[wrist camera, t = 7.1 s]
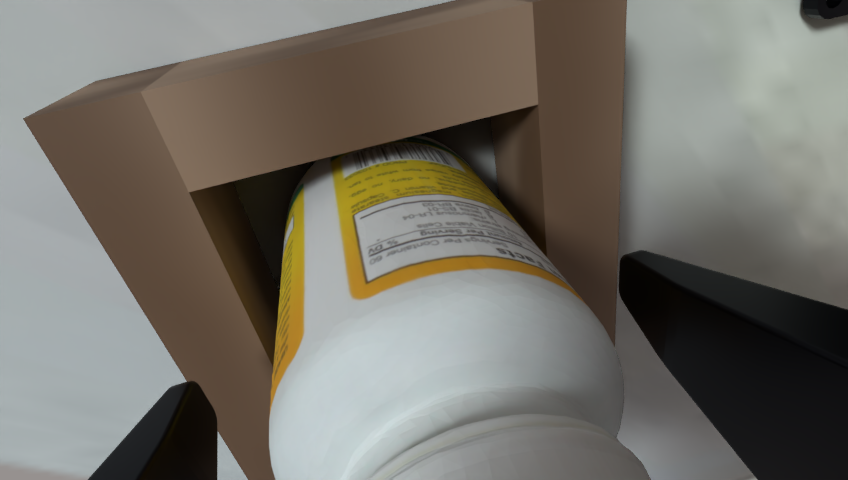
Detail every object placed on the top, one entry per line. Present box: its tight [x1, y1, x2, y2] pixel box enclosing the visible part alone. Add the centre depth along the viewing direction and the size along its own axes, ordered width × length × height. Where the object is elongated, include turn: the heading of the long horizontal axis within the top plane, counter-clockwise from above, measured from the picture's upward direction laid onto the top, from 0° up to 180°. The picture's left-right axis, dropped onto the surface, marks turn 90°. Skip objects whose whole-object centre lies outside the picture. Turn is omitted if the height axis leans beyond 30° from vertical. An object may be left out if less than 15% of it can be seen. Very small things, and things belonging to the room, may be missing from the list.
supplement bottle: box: [269, 135, 651, 480], centre depth 9 cm, size 5×5×10 cm
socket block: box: [23, 0, 627, 480], centre depth 12 cm, size 10×10×3 cm
